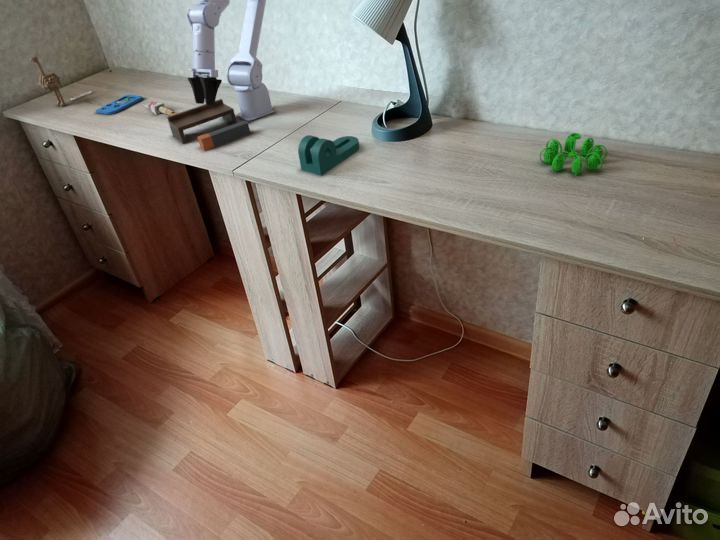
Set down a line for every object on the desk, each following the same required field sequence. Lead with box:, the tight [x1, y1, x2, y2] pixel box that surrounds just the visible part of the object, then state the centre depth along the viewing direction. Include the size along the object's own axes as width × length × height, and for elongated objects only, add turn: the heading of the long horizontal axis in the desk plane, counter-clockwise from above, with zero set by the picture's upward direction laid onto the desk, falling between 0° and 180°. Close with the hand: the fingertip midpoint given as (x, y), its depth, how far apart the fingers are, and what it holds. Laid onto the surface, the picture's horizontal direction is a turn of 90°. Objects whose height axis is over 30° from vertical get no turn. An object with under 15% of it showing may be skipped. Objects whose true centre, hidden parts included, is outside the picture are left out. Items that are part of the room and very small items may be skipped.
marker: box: [197, 120, 251, 152], centre depth 161 cm, size 15×3×4 cm, turn 127°
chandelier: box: [539, 132, 609, 176], centre depth 129 cm, size 15×15×7 cm
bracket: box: [297, 134, 360, 177], centre depth 144 cm, size 18×7×8 cm, turn 143°
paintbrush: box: [141, 101, 178, 116], centre depth 186 cm, size 4×3×20 cm
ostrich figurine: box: [29, 55, 93, 108], centre depth 201 cm, size 17×7×18 cm, turn 144°
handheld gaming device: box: [95, 94, 144, 115], centre depth 196 cm, size 8×1×15 cm
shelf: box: [166, 98, 238, 144], centre depth 169 cm, size 18×8×6 cm, turn 127°
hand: (204, 104), depth 156 cm, fingers open, 7 cm apart
